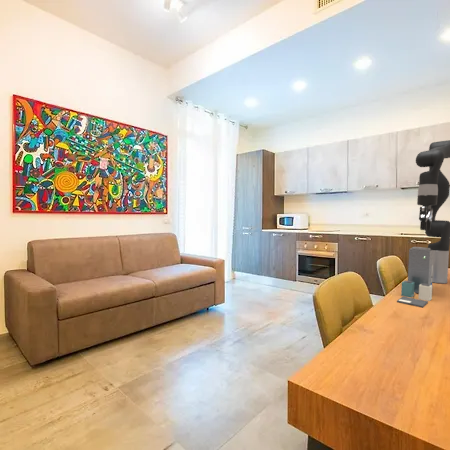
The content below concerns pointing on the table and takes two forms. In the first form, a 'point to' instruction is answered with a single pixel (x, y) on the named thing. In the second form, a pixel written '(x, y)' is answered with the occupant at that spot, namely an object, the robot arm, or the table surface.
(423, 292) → the block
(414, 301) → the pad
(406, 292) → the block
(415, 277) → the unit
